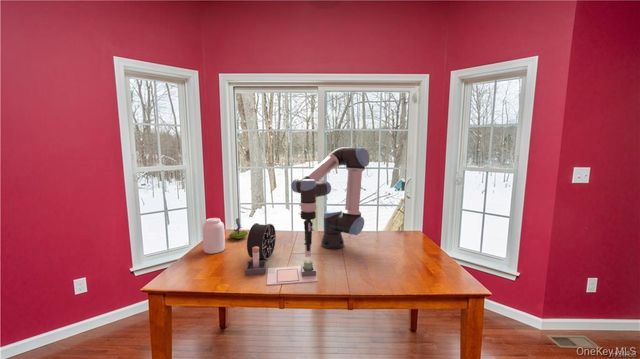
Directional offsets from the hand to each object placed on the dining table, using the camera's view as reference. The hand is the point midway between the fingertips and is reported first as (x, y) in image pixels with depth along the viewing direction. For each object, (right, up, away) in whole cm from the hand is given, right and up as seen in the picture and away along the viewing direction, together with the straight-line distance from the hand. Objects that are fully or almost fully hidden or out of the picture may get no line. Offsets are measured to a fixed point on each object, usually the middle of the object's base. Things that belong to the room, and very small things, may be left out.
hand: (308, 256), depth 136 cm
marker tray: (-27, -9, +5) cm, 29 cm away
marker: (-27, -9, +5) cm, 29 cm away
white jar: (-60, -6, +32) cm, 68 cm away
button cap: (0, -7, +1) cm, 7 cm away
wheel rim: (-28, -7, +22) cm, 36 cm away
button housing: (0, -10, +1) cm, 10 cm away
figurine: (-52, -3, +54) cm, 75 cm away
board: (-8, -10, 0) cm, 13 cm away
